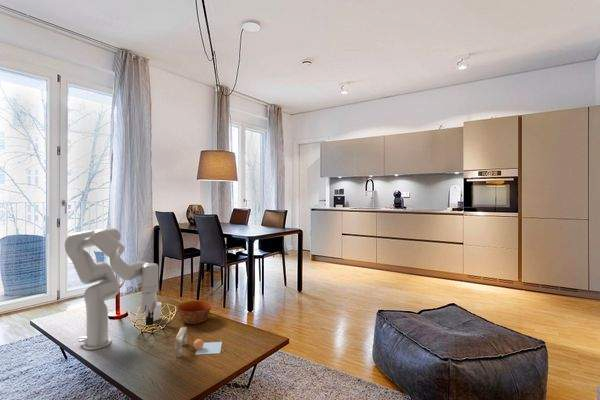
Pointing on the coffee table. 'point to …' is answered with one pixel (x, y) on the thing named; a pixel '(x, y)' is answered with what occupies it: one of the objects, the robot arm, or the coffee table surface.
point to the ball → (198, 344)
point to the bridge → (180, 341)
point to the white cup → (157, 311)
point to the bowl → (194, 311)
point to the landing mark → (210, 348)
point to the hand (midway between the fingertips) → (149, 324)
